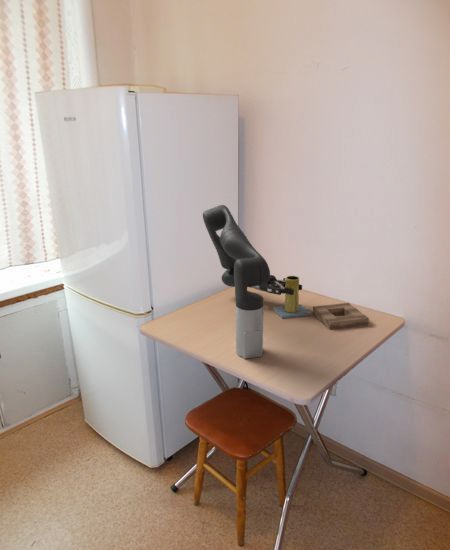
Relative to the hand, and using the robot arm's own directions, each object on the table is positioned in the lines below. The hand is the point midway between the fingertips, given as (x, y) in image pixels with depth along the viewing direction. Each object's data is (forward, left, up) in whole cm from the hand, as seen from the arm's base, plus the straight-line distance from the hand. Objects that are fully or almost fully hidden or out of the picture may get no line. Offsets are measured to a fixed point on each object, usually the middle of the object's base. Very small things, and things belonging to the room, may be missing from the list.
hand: (297, 290), depth 172 cm
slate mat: (+2, +2, -10) cm, 11 cm away
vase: (+2, +2, -10) cm, 10 cm away
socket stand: (-9, -14, -10) cm, 20 cm away
